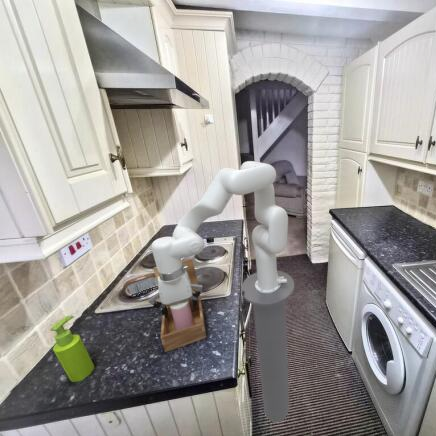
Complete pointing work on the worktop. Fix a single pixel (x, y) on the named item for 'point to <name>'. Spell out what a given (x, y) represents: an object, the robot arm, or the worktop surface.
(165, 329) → the chest
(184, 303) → the tube
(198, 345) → the worktop surface
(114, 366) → the worktop surface
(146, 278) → the tin
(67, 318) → the soap dispenser
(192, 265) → the lid
